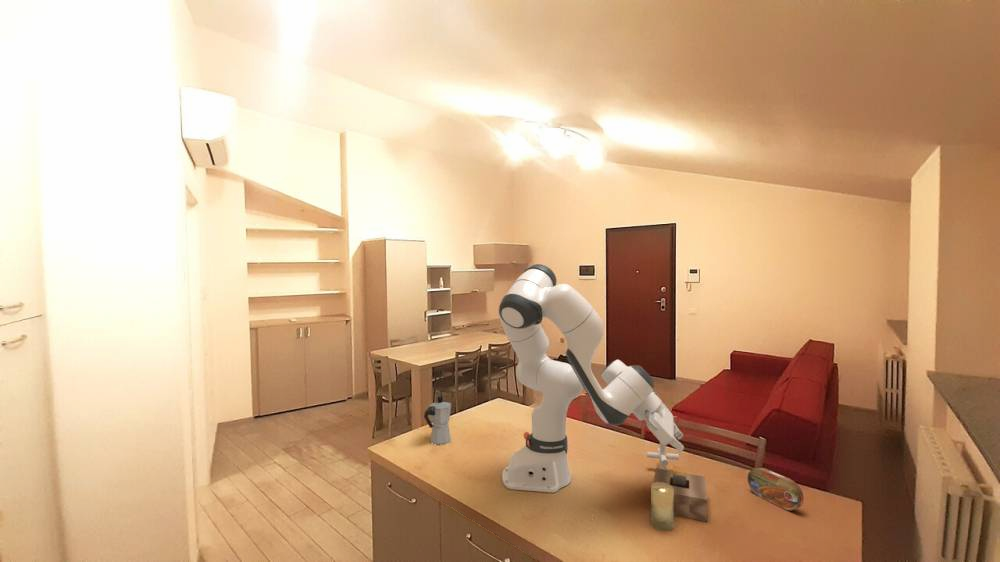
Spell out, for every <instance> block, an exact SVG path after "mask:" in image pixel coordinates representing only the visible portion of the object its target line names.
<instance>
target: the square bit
mask: <svg viewBox="0 0 1000 562" xmlns="http://www.w3.org/2000/svg"><path fill="white" fill-rule="evenodd" d="M672 471H673V486H677V487H682V488H686V473H687V467H683V466H679V465H677V466H676V465H673V466H672Z"/></svg>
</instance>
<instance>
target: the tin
mask: <svg viewBox="0 0 1000 562" xmlns="http://www.w3.org/2000/svg"><path fill="white" fill-rule="evenodd" d="M747 483H748V485H749V488H750V489H751V491H752V492H753V493H754V494H755V495H756V496H757V497H759V498H760V499H762V500H765V501H766V502H769V503H771V504H773V505H775V506H777V507H779V508H781V509H783V510H786V511H795V510H796V509H799V508H801V507H802V506H803V504H804V493H803V491H802V488H801V487H800V486H799V484H798V483H797V482H795V481H794V480H793V479H791V478H789V477H786V476H784V475H782V474H779V473H777V472H774V471H772V470H770V469H767V468H765V467H758V468H753V469H750V471H749V472H748V473H747Z"/></svg>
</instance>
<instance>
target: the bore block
mask: <svg viewBox="0 0 1000 562" xmlns="http://www.w3.org/2000/svg"><path fill="white" fill-rule="evenodd" d="M706 478H707V476H704V475H697V474H691V473H687V472H686V488H682V487H677V486H673V470H671V469H670V470H668V469H665V470H664V469H660V468H657V467H656V468H655V471H654V477H653V481H652V482H653V483H655V482H663V483H667V484H669V485H671V486H672V487H673V488H674V516H677V517H683V518H686V519H692V520H696V521H701V522H705V521H707V522H708V493H707V480H706ZM653 483H652V484H653Z"/></svg>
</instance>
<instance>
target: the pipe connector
mask: <svg viewBox="0 0 1000 562" xmlns="http://www.w3.org/2000/svg"><path fill="white" fill-rule="evenodd" d="M646 458H648V459H659V469H664V470H666V466H668V465H669V461H668V460H674V461H675V460H676V461H678V460H680V457H679V454H678V453H670V452H668V453H667V452H666V445H663V444H662V443H661V442H660V441H659V447H658V448H657V452H654V451H653V452H651V451H646Z"/></svg>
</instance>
